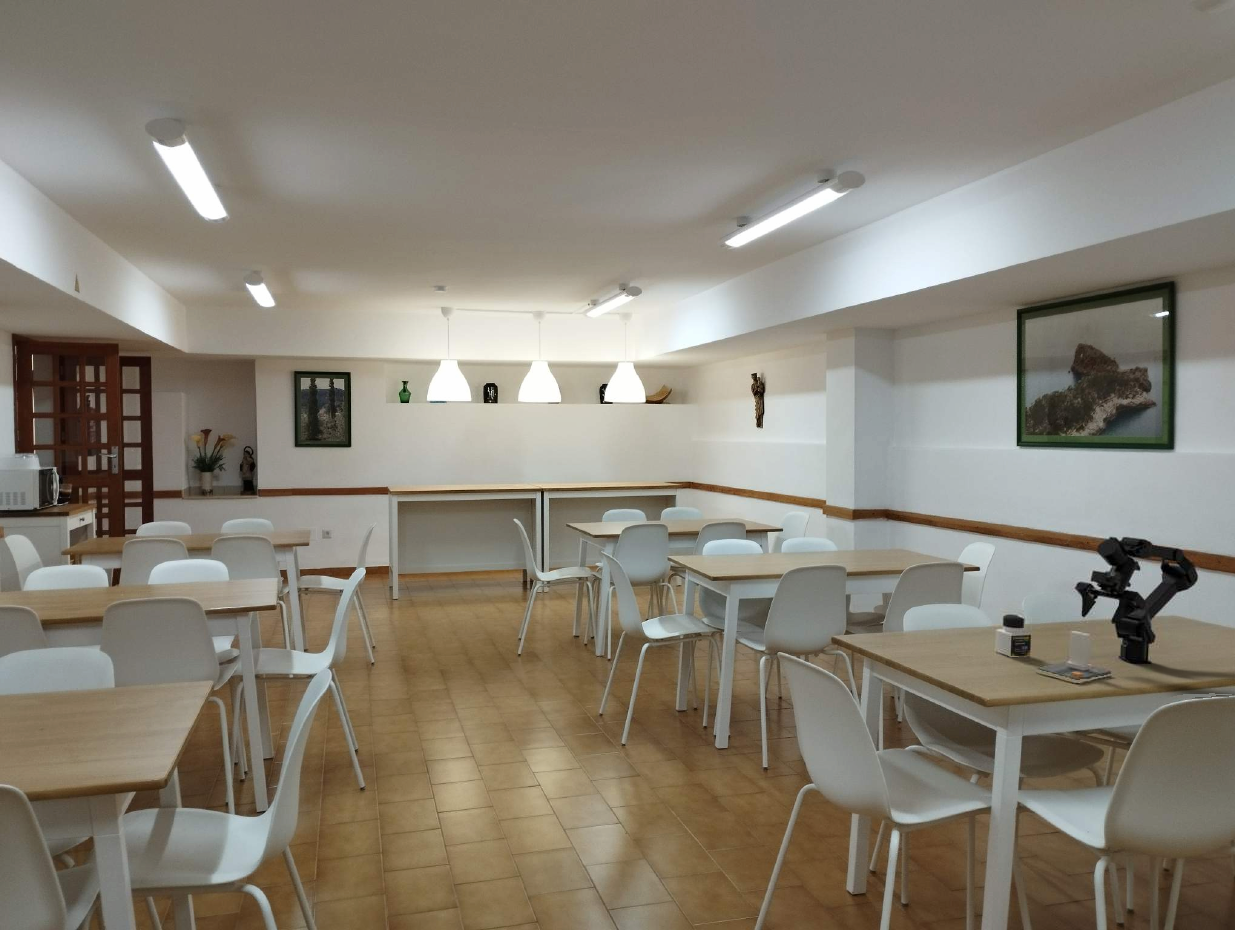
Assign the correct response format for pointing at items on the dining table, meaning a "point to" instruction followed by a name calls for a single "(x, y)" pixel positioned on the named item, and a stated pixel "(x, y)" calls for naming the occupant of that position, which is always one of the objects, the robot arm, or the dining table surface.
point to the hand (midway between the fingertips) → (1097, 619)
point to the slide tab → (1079, 651)
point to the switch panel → (1074, 671)
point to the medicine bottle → (1013, 637)
